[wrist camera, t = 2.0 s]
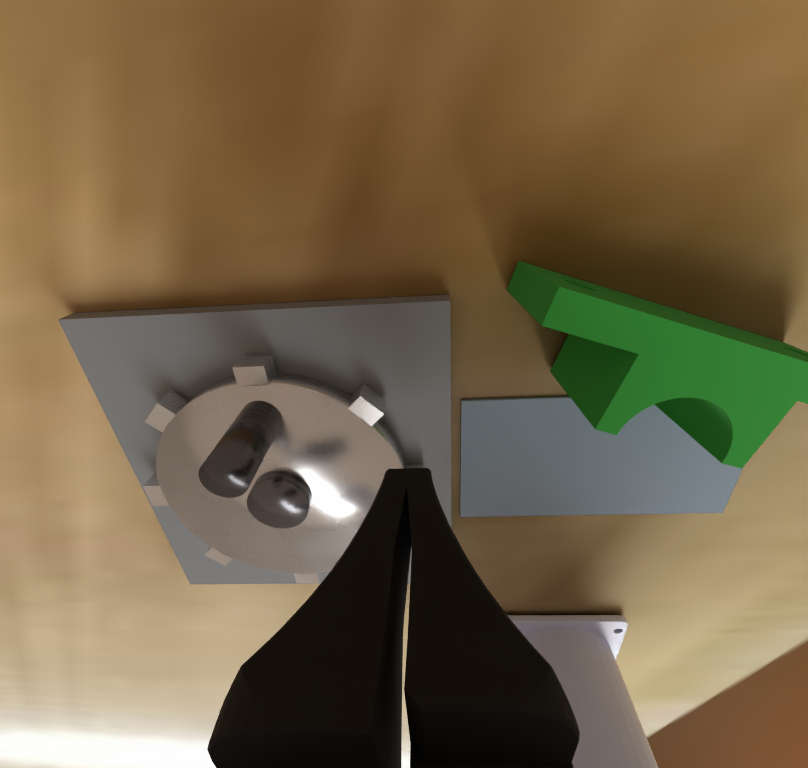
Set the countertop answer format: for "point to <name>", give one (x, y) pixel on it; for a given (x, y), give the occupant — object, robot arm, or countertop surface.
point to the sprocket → (272, 466)
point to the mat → (582, 463)
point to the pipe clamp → (664, 364)
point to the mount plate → (293, 354)
